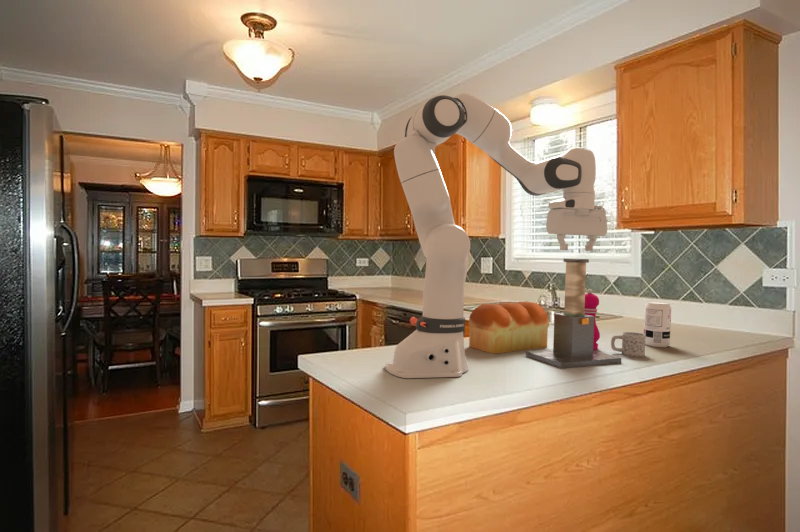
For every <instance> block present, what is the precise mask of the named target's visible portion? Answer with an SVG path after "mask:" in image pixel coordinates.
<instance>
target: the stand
mask: <svg viewBox="0 0 800 532" xmlns="http://www.w3.org/2000/svg"><path fill="white" fill-rule="evenodd" d="M553 315H554V317H553V318H554V319H553V320H554V321H553V343H552V345H553V347H552V349H540V350H537V349H536V350H528V351H527V350H525V357H528V358H530V359H532V360H536V361H538V362H541V363H544V364H547V365H550V366H553V367H556V368H559V369H570V368H581V367H583V368H584V367H593V366H602V365H604V366H605V365H612V364H613V365H614V364H622V357H619V356H615V355H612V354H608V353H605V352H602V351H597V350H593V341H594V316H590V315H585V316H569V315H564V312H557V313H556V312H555V313H554V314H553Z"/></svg>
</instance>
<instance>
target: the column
mask: <svg viewBox="0 0 800 532" xmlns="http://www.w3.org/2000/svg"><path fill="white" fill-rule="evenodd" d="M563 263H565V281H564V283H565V285H564V311H563V313H564V315H569V316H585V314H584V307H585V294H586V278H587V277H586V274H587V263H588V264H589V263H590V260H589V258H563Z"/></svg>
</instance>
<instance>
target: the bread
mask: <svg viewBox="0 0 800 532" xmlns="http://www.w3.org/2000/svg"><path fill="white" fill-rule="evenodd" d="M467 325H468V327H469V339H468V341H469V343H468V344H469V345H468V347H469V348H473V349H475V350H478V349H479V351H483V352H485V351H486V352H485V353H489V352H490V353H489V354H492V353H493V355H496V353H497V354H503V353H504V352H505V353H510V352H520V351H527V350H533V349H542V348H548V336H549V335H548V330H549V327H550V320H549V314H548V313H547V312H546V310H545V308H543V306H541V305H540V304H539V303H538V302H532V301H518V302H499V303H498V304H496V303H495V304H494V303H481V304H480V305H479V306H477V307H475V308H474V309H473V310H472V312H471V313H470V314H469V320H468V324H467Z"/></svg>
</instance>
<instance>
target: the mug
mask: <svg viewBox="0 0 800 532" xmlns="http://www.w3.org/2000/svg"><path fill="white" fill-rule="evenodd" d="M618 339H619V340H622V343H621V347H616V346H615V341H616V340H618ZM645 339H646V335H645V334H644V333H642V332H634V331H624V332H622V334H618V335H613V336H611V341H610V346H611V347H610V348H611V349H612V350H613V351H615V352H620V353H621V354H622V355H624V356H628V357H634V358H642V357H645V356H646V344H645Z"/></svg>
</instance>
